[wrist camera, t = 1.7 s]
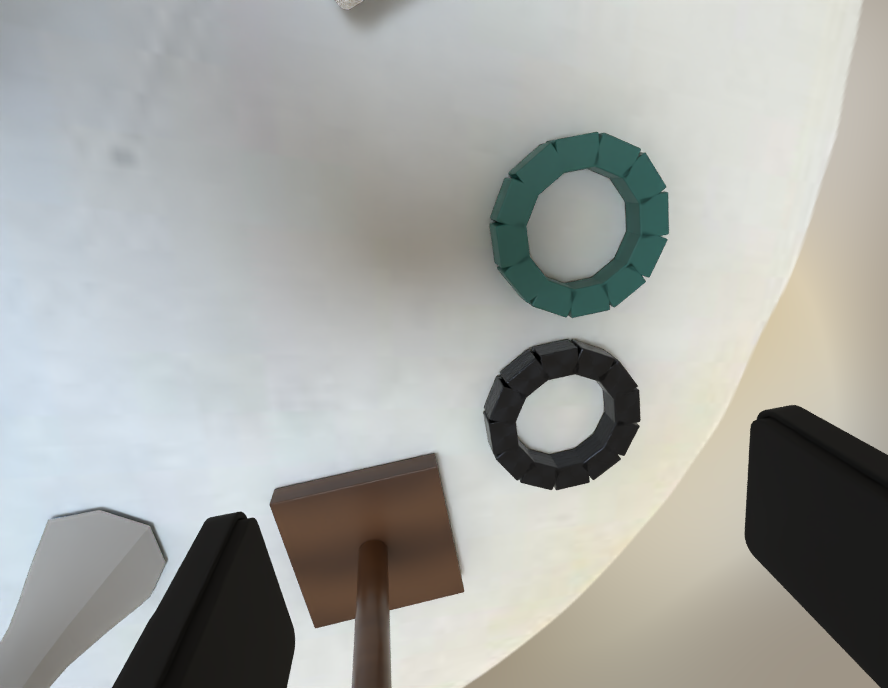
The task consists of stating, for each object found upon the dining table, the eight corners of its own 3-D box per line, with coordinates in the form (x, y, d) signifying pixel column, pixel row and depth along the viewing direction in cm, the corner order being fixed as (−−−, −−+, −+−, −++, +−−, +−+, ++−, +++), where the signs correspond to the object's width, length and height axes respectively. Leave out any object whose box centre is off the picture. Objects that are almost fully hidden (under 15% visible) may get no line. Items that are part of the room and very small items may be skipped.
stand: (274, 488, 30) (189, 745, 17) (434, 452, 30) (479, 671, 17) (317, 609, 33) (277, 903, 20) (461, 575, 34) (515, 837, 21)
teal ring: (478, 154, 25) (485, 153, 24) (650, 121, 26) (667, 118, 24) (503, 323, 28) (510, 331, 27) (655, 290, 29) (670, 297, 27)
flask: (168, 511, 30) (70, 668, 20) (167, 604, 32) (78, 786, 22) (32, 502, 28) (-139, 666, 19) (41, 600, 30) (-109, 791, 21)
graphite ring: (474, 359, 29) (479, 369, 27) (624, 326, 29) (637, 334, 28) (496, 487, 32) (501, 503, 30) (631, 456, 32) (643, 470, 31)
